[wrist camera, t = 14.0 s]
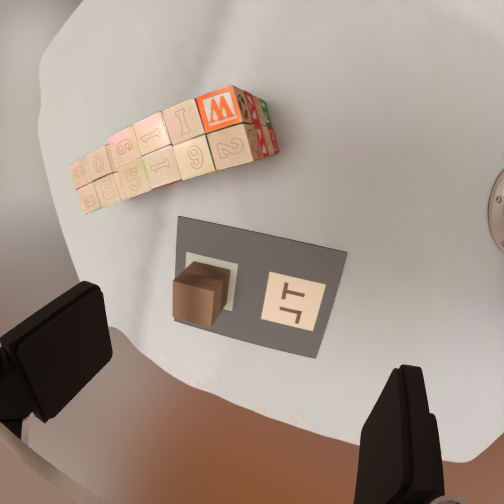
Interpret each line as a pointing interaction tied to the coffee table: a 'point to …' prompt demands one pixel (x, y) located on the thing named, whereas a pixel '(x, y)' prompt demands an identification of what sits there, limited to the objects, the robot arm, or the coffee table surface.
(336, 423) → the coffee table surface
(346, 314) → the coffee table surface
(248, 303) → the mat
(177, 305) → the walnut block
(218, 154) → the stack of blocks
